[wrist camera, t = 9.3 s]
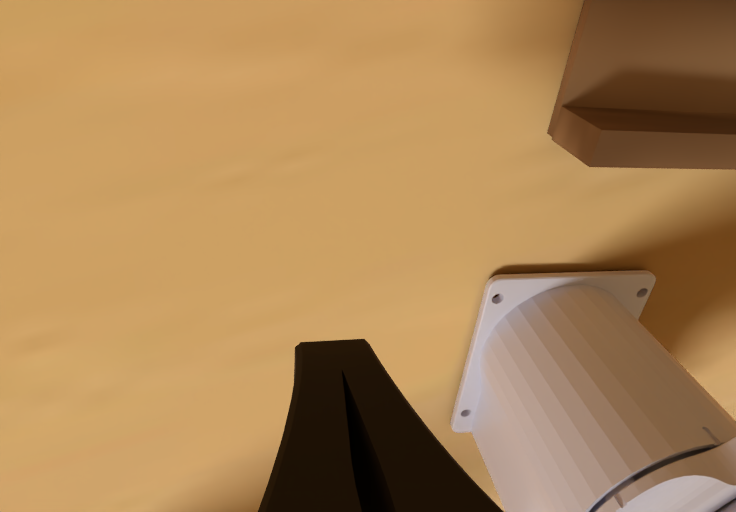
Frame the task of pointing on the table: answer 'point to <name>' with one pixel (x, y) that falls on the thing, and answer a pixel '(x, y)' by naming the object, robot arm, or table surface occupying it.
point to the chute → (650, 85)
